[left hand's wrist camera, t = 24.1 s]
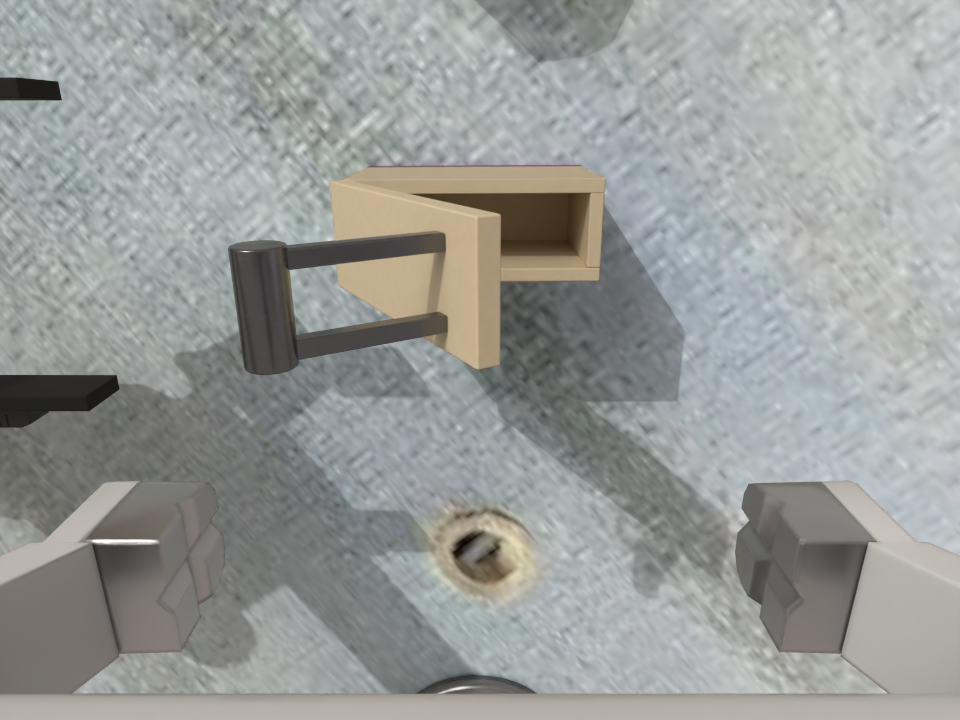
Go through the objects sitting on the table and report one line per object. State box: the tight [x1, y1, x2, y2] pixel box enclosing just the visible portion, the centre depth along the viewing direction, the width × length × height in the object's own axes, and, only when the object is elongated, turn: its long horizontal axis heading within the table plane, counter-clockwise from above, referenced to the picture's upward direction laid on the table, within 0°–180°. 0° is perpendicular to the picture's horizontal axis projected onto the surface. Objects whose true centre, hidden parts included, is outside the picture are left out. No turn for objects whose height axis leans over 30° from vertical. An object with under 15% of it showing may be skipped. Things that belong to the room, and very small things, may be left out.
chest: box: [342, 165, 605, 282], centre depth 40 cm, size 14×6×10 cm, turn 90°
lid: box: [228, 180, 501, 375], centre depth 27 cm, size 15×6×8 cm
